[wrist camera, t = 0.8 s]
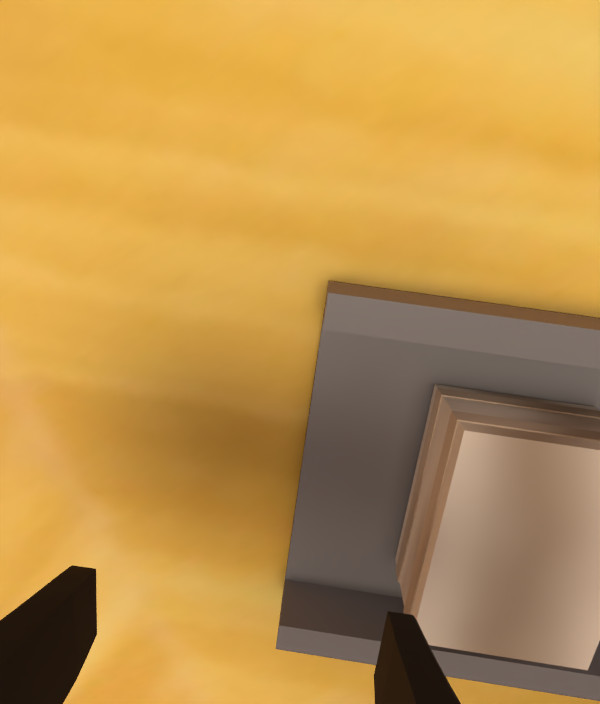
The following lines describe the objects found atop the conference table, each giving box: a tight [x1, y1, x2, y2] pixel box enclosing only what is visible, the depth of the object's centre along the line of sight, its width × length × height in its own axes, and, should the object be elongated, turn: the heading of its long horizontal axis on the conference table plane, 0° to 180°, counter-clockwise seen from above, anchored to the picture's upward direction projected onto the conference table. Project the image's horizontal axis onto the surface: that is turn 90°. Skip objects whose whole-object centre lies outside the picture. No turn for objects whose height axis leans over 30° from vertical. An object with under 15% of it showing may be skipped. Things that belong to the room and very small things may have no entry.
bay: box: [276, 281, 600, 701], centre depth 17 cm, size 21×14×3 cm
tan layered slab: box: [395, 384, 600, 670], centre depth 16 cm, size 6×8×4 cm
